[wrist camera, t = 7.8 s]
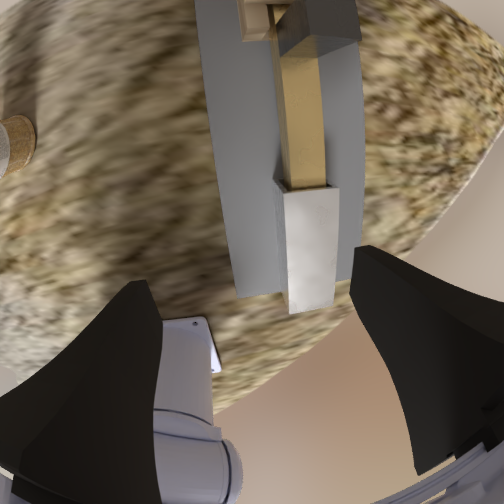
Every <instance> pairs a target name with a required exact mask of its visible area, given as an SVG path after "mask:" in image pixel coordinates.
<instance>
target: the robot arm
mask: <svg viewBox="0 0 504 504" xmlns="http://www.w3.org/2000/svg"><path fill="white" fill-rule="evenodd" d="M349 294H350V297H351V299H352V302H353V304H354V307H355V309H356V311H357V313H358V316H359V318H360V319H361V321H362V323H363V325H364V326H365V328H366V330H367V332H368V333H369V335H370V337H371V338H372V340H373V342H374V344H375V346H376V347H377V349H378V351H379V353H380V355H381V356H382V358H383V360H384V362H385V364H386V366H387V368H388V370H389V372H390V374H391V377H392V380H393V382H394V385H395V387H396V390H397V393H398V396H399V399H400V402H401V405H402V408H403V412H404V415H405V419H406V423H407V427H408V431H409V435H410V440H411V446H412V452H413V458H414V467H415V469H416V472H417V475H418V476H420V475H421V474H423V473H425V472H427V471H429V470H431V469H432V468H434V467H436V466H438V465H439V464H441V463H443V462H444V461H446V460H447V459H449V458H451V457H452V456H455V458H456V460H455V461H454V462H452V463H451V464H450V465H448V466H446V467H445V468H443V469H441V470H440V471H438V472H436V473H434V474H433V475H431V476H429V477H427V478H426V479H424V480H422V481H420V482H418V483H416V484H414V485H412V486H411V487H408V488H406V489H405V490H402V491H400V492H398V493H396V494H393V495H391V496H389V497H387V498H384V499H382V500H379V501H377V502H374V503H372V504H420V503H422V502H423V501H425V500H427V499H429V498H431V497H432V496H434V495H436V494H437V493H439V492H441V491H442V490H444V489H446V488H447V489H446V492H445V494H444V495H441V496H439V497H437V498H435V499H433V500H430V501H428V502H426V503H424V504H504V302H499V301H496V300H493V299H490V298H487V297H483V296H480V295H477V294H475V293H472V292H469V291H467V290H464V289H462V288H459V287H457V286H454V285H452V284H449V283H447V282H445V281H443V280H441V279H439V278H436V277H435V276H432V275H430V274H428V273H426V272H424V271H422V270H420V269H418V268H416V267H414V266H412V265H411V264H408V263H407V262H405V261H403V260H401V259H399V258H397V257H395V256H393V255H391V254H389V253H387V252H385V251H383V250H381V249H378V248H376V247H374V246H371V245H367V246H361V247H355V248H354V258H353V268H352V276H351V285H350V292H349ZM194 322H197V323H194ZM220 371H221V364H220V361H219V358H218V355H217V352H216V349H215V346H214V343H213V340H212V336H211V333H210V330H209V326H208V323H207V320H206V318H204V317H200V316H199V317H191V318H183V319H174V320H165V321H162V319H161V317H160V314H159V312H158V310H157V307H156V305H155V302H154V300H153V297H152V295H151V292H150V289H149V287H148V284H147V282H146V279H145V280H138V281H131V282H129V283H128V284H127V285H126V286H124V287H123V288H122V289H121V290H120V291H119V292H118V294H117V295H116V296H115V297H114V298H113V299H112V300H111V301H110V302H109V303H108V304H107V305H106V306H105V307H104V308H103V310H102V311H101V312H100V313H99V314H98V315H97V316H96V317H95V318H94V319H93V320H92V321H91V322H90V324H89V325H88V326H87V327H86V328H85V329H84V330H83V331H82V332H81V333H80V334H79V335H78V336H77V337H76V338H75V339H74V340H73V341H72V342H71V343H70V344H69V345H68V346H67V347H66V348H65V349H64V350H63V351H61V352H60V353H59V354H58V355H57V356H56V357H55V358H54V359H53V360H51V361H50V362H49V363H48V364H47V365H45V366H44V367H43V368H41V369H40V370H39V371H38V372H36V373H35V374H34V375H32V376H31V377H30V378H29V379H27V380H26V381H24V382H23V383H22V384H20V385H19V386H17V387H16V388H14V389H12V390H11V391H9V392H8V393H6V394H4V395H3V396H1V397H0V466H1V467H2V468H4V469H5V470H7V471H9V472H10V473H12V474H14V476H13V480H11V479H9V478H8V477H6V476H4V475H2V474H1V473H0V504H235V503H236V500H237V499H238V497H239V495H240V492H241V489H242V483H243V469H242V462H241V458H240V455H239V453H238V451H237V450H236V448H235V447H234V446H233V444H232V443H231V442H230V441H229V440H227V439H222V435H221V428H220V427H214V424H213V401H212V373H216V372H220Z"/></svg>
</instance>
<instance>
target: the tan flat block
mask: <svg viewBox="0 0 504 504" xmlns="http://www.w3.org/2000/svg"><path fill="white" fill-rule="evenodd" d="M267 11H268V18H269V25H270V28H269V29H268V32H269V40H270V47H271V55H272V63H273V72H274V81H275V90H276V99H277V109H278V119H279V130H280V141H281V153H282V165H283V179H284V188H285V189H286V190H287V191H296V190H306V189H315V188H325V187H326V175H325V145H324V126H323V111H322V98H321V87H320V76H319V67H318V58H319V57H321V56H323V55H325V54H328V53H330V52H333V51H335V50H337V49H340V48H342V47H345V46H348V45H350V44H353V43H356V42H358V41H361V40H362V37H361V31H360V25H359V19H358V13H357V8H356V3H355V0H294V1H293V3H292V4H268V6H267Z"/></svg>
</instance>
